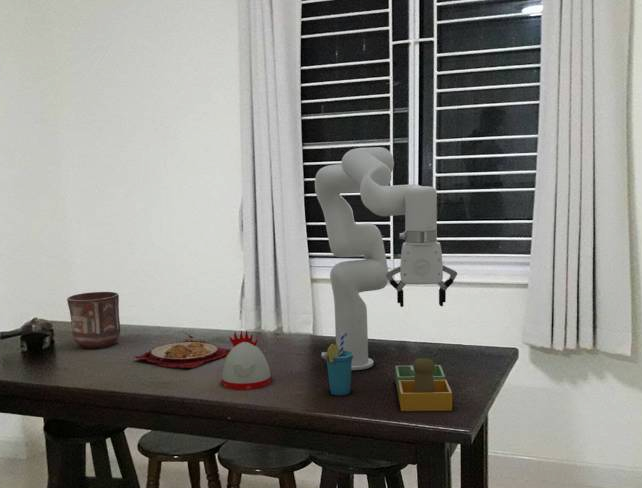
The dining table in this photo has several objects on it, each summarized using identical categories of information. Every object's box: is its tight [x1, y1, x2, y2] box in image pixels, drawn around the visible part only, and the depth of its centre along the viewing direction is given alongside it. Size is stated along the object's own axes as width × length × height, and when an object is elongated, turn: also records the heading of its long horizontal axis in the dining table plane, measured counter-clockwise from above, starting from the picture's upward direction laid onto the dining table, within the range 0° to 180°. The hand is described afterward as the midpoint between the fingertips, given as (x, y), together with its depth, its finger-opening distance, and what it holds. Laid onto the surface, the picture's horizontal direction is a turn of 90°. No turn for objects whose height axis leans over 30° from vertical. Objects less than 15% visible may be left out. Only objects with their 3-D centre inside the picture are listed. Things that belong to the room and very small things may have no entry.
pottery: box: [66, 291, 121, 350], centre depth 271 cm, size 18×18×18 cm
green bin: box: [394, 364, 446, 392], centre depth 204 cm, size 12×11×4 cm
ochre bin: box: [397, 379, 453, 412], centre depth 190 cm, size 12×11×4 cm
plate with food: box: [133, 334, 232, 369], centre depth 249 cm, size 24×26×3 cm
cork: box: [412, 357, 435, 393], centre depth 190 cm, size 6×6×11 cm
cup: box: [325, 333, 353, 396], centre depth 203 cm, size 14×8×15 cm, turn 159°
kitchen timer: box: [221, 330, 272, 390], centre depth 216 cm, size 14×14×15 cm
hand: (421, 305), depth 190 cm, fingers open, 9 cm apart
